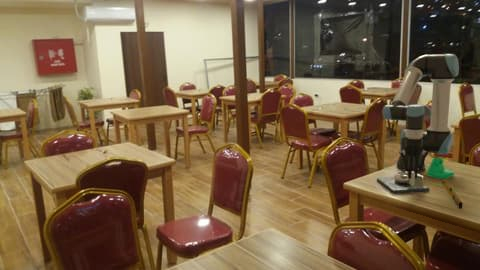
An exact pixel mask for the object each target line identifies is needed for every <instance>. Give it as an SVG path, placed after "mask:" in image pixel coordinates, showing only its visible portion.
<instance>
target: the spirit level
mask: <svg viewBox="0 0 480 270" xmlns="http://www.w3.org/2000/svg"><path fill="white" fill-rule="evenodd" d="M447 180H448V179H445V178H443V179H442V180H441V181H442V182H441V183H442V184H443V186H444V188H445V189H446V191H447V193H448V194H449V195H450V196H451V198H452V200H453V201H454V203H455V204H456V205H457V208H458V209H463V202H462V200H461V199H460V197H459V196H458V195H457V193H456V192H455V190H453V187H452V186H451V185H450V183H449V182H448V181H447Z"/></svg>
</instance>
